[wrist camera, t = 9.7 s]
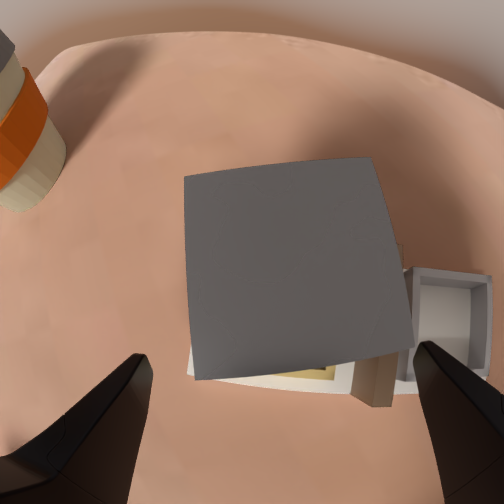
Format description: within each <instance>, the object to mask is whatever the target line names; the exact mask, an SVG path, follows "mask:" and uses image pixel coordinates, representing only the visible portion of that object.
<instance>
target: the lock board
mask: <svg viewBox="0 0 504 504" xmlns="http://www.w3.org/2000/svg"><path fill="white" fill-rule="evenodd" d="M397 248H398V252H399V256H400V260H401V265H402V270H403V274H404V279H405V284H406V290H407V295H408V301H409V306H410V313H411V319H412V326H413V333H414V340H415V347H414V348H410V349H407V350H403V351H399V352H395V353H391V354H386V355H382V356H378V357H373V358H369V359H364V360H359V361H354V362H349V363H344V364H339V365H333V366H328V367H322V368H316V369H309V370H302V371H295V372H288V373H280V374H272V375H263V376H253V377H241V378H228V379H213V380H218V381H224V382H230V383H236V384H243V385H250V386H257V387H265V388H273V389H282V390H292V391H303V392H317V393H334V394H351V395H352V396H354V397H356V398H357V399H359V400H361V401H362V402H364V403H366V404H367V405H369V406H371V407H391V406H392V400H393V394H418V393H419V392H418V387H417V382H416V377H415V373H414V368H413V357H414V355H415V352H416V350H417V347H418V345H419V343H420V342H422V341H428V340H431V341H433V342H434V343H436V344H437V345H438V346H440V347H441V348H442V349H444V350H445V351H446V352H448V353H449V354H450V355H452V356H453V357H454V358H456V359H457V360H459V361H460V362H461V363H463V364H464V365H465V366H467V367H468V368H469V369H470V370H472V371H473V372H474V373H476V374H477V375H478V376H480V377H481V378H482V379H484V380H485V381H486V376H489V368H490V358H491V344H492V321H493V297H492V276H490V275H482V274H473V273H465V272H456V271H448V270H439V269H430V268H422V267H411V268H410V269H403V245H399V244H397ZM187 375H192V376H195V375H194V366H193V356H192V345H191V349H190V356H189V363H188V370H187Z"/></svg>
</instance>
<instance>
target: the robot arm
mask: <svg viewBox="0 0 504 504" xmlns="http://www.w3.org/2000/svg"><path fill="white" fill-rule="evenodd" d="M413 368H414V373H415V377H416V382H417V387H418V392H419V397H420V402H421V406H422V409H423V412H424V416H425V419H426V423H427V426H428V430H429V434H430V437H431V441H432V445H433V449H434V453H435V457H436V462H437V466H438V470H439V475H440V480H441V485H442V490H443V495H444V502H445V504H504V395H503V394H500V392H499V391H498V390H497V389H495V388H494V387H493V386H491V385H490V384H489V383H488V382H486V381H485V380H484V379H482V378H481V377H480V376H478V375H477V374H476V373H474V372H473V371H472V370H470V369H469V368H468V367H467V366H465V365H464V364H463V363H461V362H460V361H459V360H457V359H456V358H454V357H453V356H452V355H450V354H449V353H448V352H446V351H445V350H444V349H442V348H441V347H440V346H438V345H437V344H436V343H434V342H433V341H431V340H428V341H422V342H420V343H419V345H418V347H417V350H416V352H415V355H414V357H413ZM152 380H153V370H152V368H151V365H150V363H149V360H148V358H147V356H146V355H145V354H138V353H134V354H132V355H131V356H130V357H129V358H128V359H126V360H125V361H124V362H123V363H122V364H121V365H120V366H118V367H117V368H116V369H115V370H114V371H113V372H112V373H110V374H109V375H108V376H107V377H106V378H105V379H104V380H102V381H101V382H100V383H99V384H98V385H97V386H96V387H94V388H93V389H92V390H91V391H90V392H89V393H88V394H86V395H85V396H84V397H83V398H82V399H81V400H80V401H78V402H77V403H76V404H75V405H74V406H73V407H72V408H70V409H69V410H68V411H67V412H66V413H65V415H62V416H61V417H60V418H59V419H58V420H57V421H55V422H54V423H53V424H52V425H51V426H49V427H48V428H47V429H46V430H44V431H43V432H42V433H40V434H39V435H38V436H36V437H35V438H33V439H32V440H30V441H29V442H28V443H26V444H25V445H23V446H22V447H20V448H19V449H17V450H16V451H14V452H13V453H11V454H9V455H6V456H1V457H0V504H127V501H128V496H129V491H130V486H131V482H132V477H133V473H134V468H135V464H136V460H137V455H138V451H139V447H140V443H141V439H142V435H143V431H144V427H145V423H146V419H147V414H148V408H149V401H150V394H151V387H152Z"/></svg>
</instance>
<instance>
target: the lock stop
mask: <svg viewBox="0 0 504 504" xmlns="http://www.w3.org/2000/svg"><path fill="white" fill-rule="evenodd" d="M184 217H185V251H186V274H187V292H188V307H189V321H190V334H191V345H192V356H193V366H194V375H195V380H213V379H228V378H241V377H253V376H263V375H272V374H280V373H288V372H295V371H302V370H309V369H316V368H322V367H328V366H333V365H339V364H344V363H349V362H354V361H359V360H364V359H369V358H373V357H378V356H382V355H386V354H391V353H395V352H399V351H403V350H407V349H410V348H414V347H415V340H414V333H413V326H412V319H411V313H410V306H409V301H408V295H407V290H406V284H405V279H404V274H403V270H402V265H401V260H400V256H399V252H398V248H397V243H396V239H395V235H394V232H393V228H392V224H391V220H390V217H389V213H388V210H387V206H386V203H385V199H384V196H383V193H382V190H381V186H380V183H379V180H378V177H377V174H376V171H375V168H374V165H373V162H372V159H371V157H358V158H340V159H325V160H312V161H300V162H289V163H279V164H270V165H261V166H253V167H245V168H237V169H230V170H223V171H216V172H209V173H203V174H196V175H190V176H184Z"/></svg>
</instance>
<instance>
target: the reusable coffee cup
mask: <svg viewBox="0 0 504 504" xmlns="http://www.w3.org/2000/svg"><path fill="white" fill-rule="evenodd" d="M14 50H15V45H14V44H13V43H12V42H11V41H10V40H9V38H8V37H7V36H6V35H5V34H4V33H3V32H2V31H1V30H0V206H2V207H5V208H7V209H9V210H11V211H14V212H24V211H26V210H29V209H31V208H32V207H33V206H35V205H36V204H37V203H39V202H40V201H41V200H42V199H43V198H44V197H45V195H46V194H47V193H48V192H49V191H50V189H51V188H52V186H53V185H54V184H55V182H56V180H57V178H58V177H59V175H60V172H61V170H62V168H63V165H64V162H65V157H66V145H65V142H64V141H63V139H62V137H61V136H60V134H59V133H58V131H57V129H56V128H55V126H54V124H53V123H52V121H51V119H50V118H49V116H48V107H47V104H46V102H45V100H44V98H43V96H42V95H41V93H40V91H39V89H38V87H37V85H36V83H35V82H34V80H33V78H32V76H31V74H30V72H29V70H28V69H27V68H25V67H21V65H20V63H19V61H18V59H17V57H16V55H15V53H14Z"/></svg>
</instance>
